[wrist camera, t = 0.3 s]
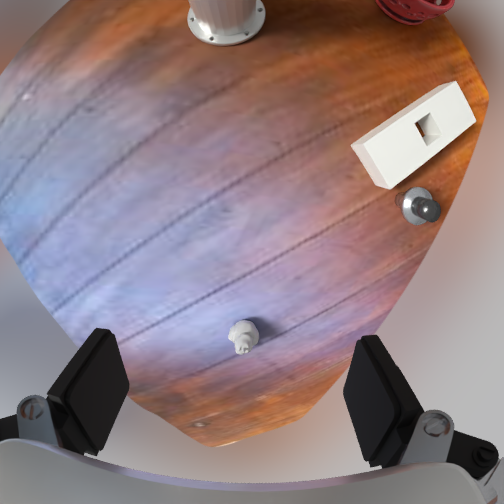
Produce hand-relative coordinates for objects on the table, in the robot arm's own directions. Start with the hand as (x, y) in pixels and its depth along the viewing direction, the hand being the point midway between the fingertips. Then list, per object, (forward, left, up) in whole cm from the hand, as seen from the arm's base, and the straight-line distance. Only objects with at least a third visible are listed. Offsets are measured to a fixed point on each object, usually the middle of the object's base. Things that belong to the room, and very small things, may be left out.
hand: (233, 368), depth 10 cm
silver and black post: (+15, +22, -37) cm, 45 cm away
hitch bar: (+6, +31, -36) cm, 48 cm away
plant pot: (-16, +47, -37) cm, 62 cm away
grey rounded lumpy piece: (+18, -15, -37) cm, 43 cm away
